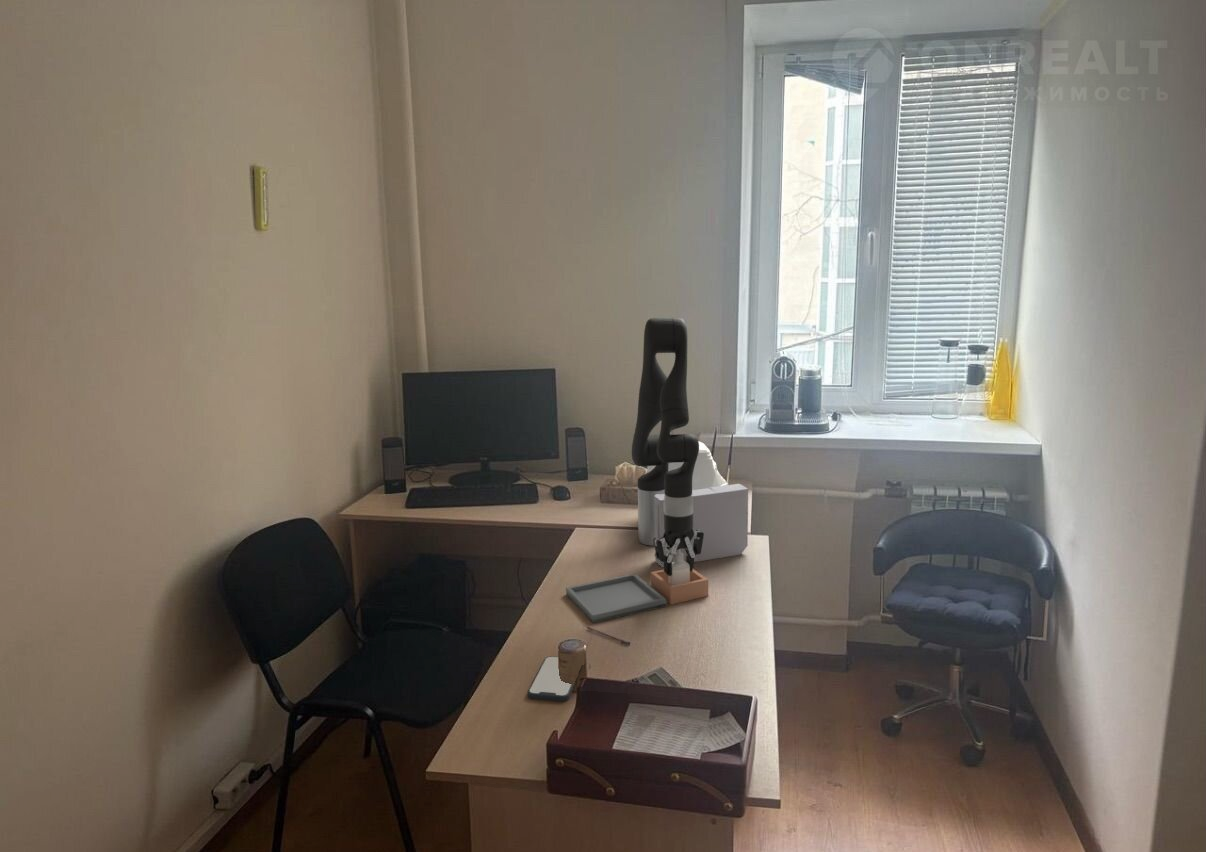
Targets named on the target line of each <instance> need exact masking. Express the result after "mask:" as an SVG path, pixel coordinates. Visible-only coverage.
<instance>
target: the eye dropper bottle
mask: <svg viewBox="0 0 1206 852" xmlns="http://www.w3.org/2000/svg"><path fill="white" fill-rule="evenodd" d="M687 582H690V565H689V564H688V563H687V562H686V561H684V554H683V553H681V550H680V549H679V550H677V552H676V553H675V554H674V562H673V563H672V575H671V576H668V583H669V584H671V585H672V586H673V585H677V584H682V583H687Z"/></svg>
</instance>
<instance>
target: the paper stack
mask: <svg viewBox="0 0 1206 852" xmlns="http://www.w3.org/2000/svg"><path fill="white" fill-rule="evenodd" d="M698 442H699V453H698V457H697V460H696V463H695V467H694V471H693V476H692V490H699V489H706V488H709V487H717V486H725V485H729V483H728V482H727V481H726V480H725V478H724V477H723V476H722V475H721V473H720V472H719V471H718V466H717V463H716V461H714V459H713V456H712V453H711V450H710V449H709V448H708V447H707V445H706V444H705V443H703V442H701V441H699V440H698ZM683 463H684V462H673V463H669V466H668V471H671V470H674V469H677V468H680V467H681V466H682V465H683ZM646 467H647V469H646V471H647V472H646V473H648V472H650V471H651V470H653V469H654V468H655V466H646Z"/></svg>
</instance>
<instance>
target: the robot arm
mask: <svg viewBox="0 0 1206 852" xmlns="http://www.w3.org/2000/svg"><path fill="white" fill-rule="evenodd" d="M642 349H643V352H642V353H643V354H642V371H641V378H640V386H639V392H638V401H637V403H638V404H637V416H636V423H635V428H634V433H633V440H632V444H631V458H632V463H633V464H634V465H635V466H638V467H648V466H655V468H654V469H653V470H651V471H650V472H648V473H647V472H646V473H644V474H642V475H640V476H639V477H638V478H637V525H638V526H637V528H638V529H637V530H638V532H637V534H638V542H639V543H640V544H643V545H645V546H653V547H654V551H655V552H656V557H657V559H659V560H660V561H661V562H664V567H663V570H664V572H665V573H666V574H667V575H668V576H671V575H672V562H671V560H672V557H673V555H674V554H675V552H676V550H679V549H685V551H686V554H687V556H686V562H687V563H688V564H689V565H690V571H693V569H694V568H695V562H694V557H695V555H697V554H700V553H701V549H702V543H703V537H704V533H703V532H701V531H700V530H696V531H693V497H692V476H693V471H694V467H695V463H696V460H697V457H698V453H699V442H700V441H699V440H698V438H697V437H696V436H695V435H694V434H691V433H683V434H682V433H681V434H680V433H679V434H671V432H672V431H673V430H677V429H681V428H684V427H686V426H687V425H688V424H689V420H690V414H689V413H690V412H689V405H688V396H687V395H688V392H687V375H688V327H687V325H686V322H685V320H684V319H683V318H680V317H653V318H649V319H648V320H647V321H646V323H645V326H644V332H643V348H642ZM657 354H675V355H674V356H675V357H674V364H673V366H672V368H671V370H670V373H669V375H668V376H667V374H666V373H665V372H664V370H663V368H662V367H661V365H660V363H659V362H658V360H657V356H656V355H657ZM659 423H660V429H659V430H660V431H659V434H650V433H651V432H652V431H653V429H654V428H655V427H656V426H657V425H658V424H659ZM698 441H699V442H698ZM673 462H684V463H683V465H682V466H681V467H680V468H677V469H674V470H671V471H668V466H669V463H673ZM656 494H665V496H664V530H665V532H664V535H663V537H661V538H658V539H657V538H655V511H654V508H655V506H654V502H655V501H654V496H655V495H656ZM693 537H694V543H693V547H692V545H691V543H690V541H691V540H692V538H693ZM664 541H665V542H666V543H667V544H666V546H665V552H663V546H664ZM670 548H671V549H670ZM655 552H654V553H655ZM694 570H695V569H694Z"/></svg>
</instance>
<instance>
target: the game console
mask: <svg viewBox="0 0 1206 852" xmlns="http://www.w3.org/2000/svg"><path fill="white" fill-rule="evenodd" d="M664 496H665V494H656V495H655V496H654V501H655V502H654V506H655V508H654V511H655V538H657V539H658V538H661V537H663V535H664V532H665V530H664ZM692 497H693V531H696V530H700V531H701V532H703V533H704V537H703V543H702V549H701V553H700V554H697V555H695V557H694V563H697V562H703V561H709V560H716V559H723V558H729V557H734V556H740V555H742V554H743V553H744V551H745V550H746V549H747V547H748V545H749V544H748V537H749V535H748V533H749V531H748V530H749V527H748V526H749V520H748V519H749V512H748V511H749V488H747V487H746V486H744V485H742V484H740V483H735V484H728V485H725V486H717V487H709V488H706V489H699V490H692ZM690 543H691V545H692V547H693V543H694V537H693V538H692V540H691V541H690ZM666 544H667V543H666V542H665V541H664V546H663V552H665V546H666ZM670 549H671V548H670ZM680 550H681V553H683V554H684V561H686V556H687V554H686V551H685V549H680ZM676 552H677V550H676ZM676 552H675V553H676ZM654 557H655V559H654V560H655V561H656V562H655V563H656V564H657V563H658V564H657V565H658V566H659V565H660V566H661V567H660V566H659V567H660V568H664V562H661V561H660V560H659V559H657V557H656V552H654ZM671 562H672V563H673V562H674V555H673V557H672V560H671Z"/></svg>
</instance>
